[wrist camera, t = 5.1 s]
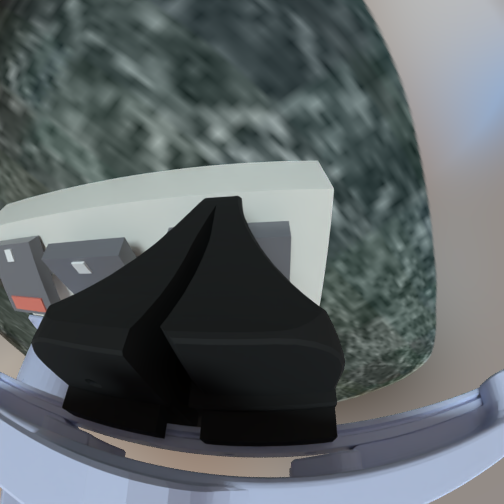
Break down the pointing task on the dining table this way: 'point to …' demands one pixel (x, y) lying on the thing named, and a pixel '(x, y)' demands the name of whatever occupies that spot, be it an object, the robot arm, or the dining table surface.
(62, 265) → the rocker
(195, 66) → the dining table surface
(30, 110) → the dining table surface
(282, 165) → the power strip
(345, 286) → the dining table surface
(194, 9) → the dining table surface
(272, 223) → the rocker
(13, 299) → the rocker
